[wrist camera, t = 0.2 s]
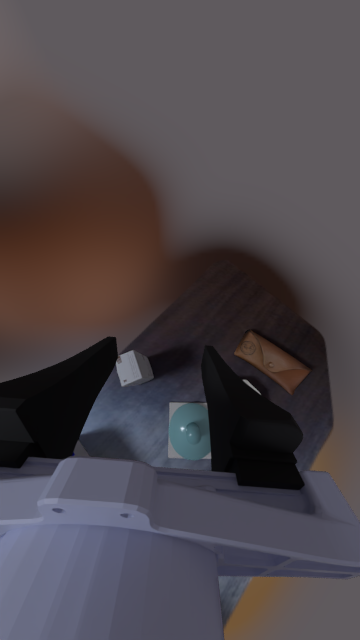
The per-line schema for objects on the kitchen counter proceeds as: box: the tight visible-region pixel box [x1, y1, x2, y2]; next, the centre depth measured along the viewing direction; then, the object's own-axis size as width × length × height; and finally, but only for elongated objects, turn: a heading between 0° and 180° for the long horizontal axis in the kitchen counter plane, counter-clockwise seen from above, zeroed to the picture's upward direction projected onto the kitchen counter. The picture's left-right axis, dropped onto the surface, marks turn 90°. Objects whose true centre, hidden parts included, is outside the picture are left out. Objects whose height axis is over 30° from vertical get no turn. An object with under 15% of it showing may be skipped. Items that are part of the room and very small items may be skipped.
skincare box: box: [116, 350, 154, 387], centre depth 36 cm, size 6×4×12 cm
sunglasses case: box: [234, 329, 312, 395], centre depth 41 cm, size 18×7×7 cm
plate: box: [168, 402, 211, 459], centre depth 37 cm, size 11×11×1 cm
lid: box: [169, 403, 211, 460], centre depth 34 cm, size 11×11×4 cm
